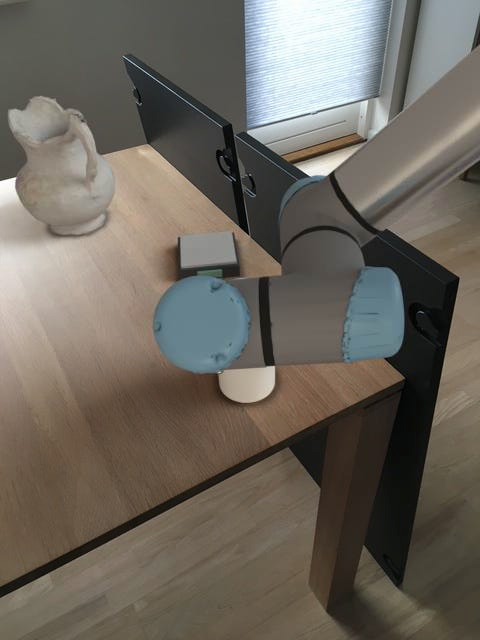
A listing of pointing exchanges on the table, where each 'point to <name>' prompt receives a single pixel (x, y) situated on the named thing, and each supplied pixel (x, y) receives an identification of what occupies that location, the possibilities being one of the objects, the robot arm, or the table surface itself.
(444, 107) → the robot arm
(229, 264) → the scale
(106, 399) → the table surface
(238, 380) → the cup
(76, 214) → the ceramic pitcher
